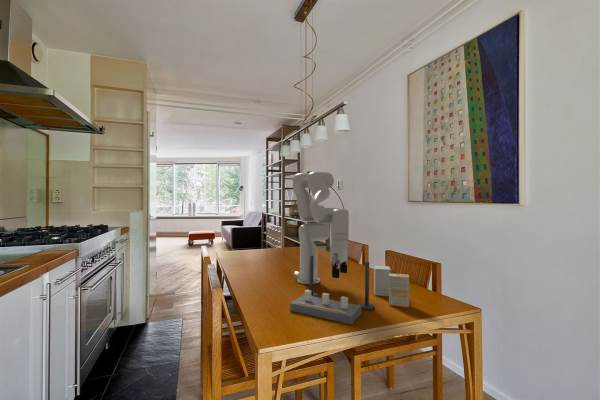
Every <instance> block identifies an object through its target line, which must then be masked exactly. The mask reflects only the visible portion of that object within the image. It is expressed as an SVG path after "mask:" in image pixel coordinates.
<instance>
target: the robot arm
mask: <svg viewBox="0 0 600 400" xmlns="http://www.w3.org/2000/svg"><path fill="white" fill-rule="evenodd" d="M334 183H335V179H334V175H332V173H330V172H327V171H312V172H300V173H296V174H294V176H293V178H292V189H293V191H294V192H293V193H294V194H295V197H296V202H297V203H296V204H297V209H298V216H299V220H300V221H302V222H306V223H303V224H301V225H300V226H299V228H298V238H299V248H300V249H299V271H294V273H293V275H294V277H297V278H296V281H297V283H299V284H303V285H310V256H314V258H313V285H316V284H319V283H320V282H321V279H320V277H318V247H317V245H316V244H315V243H314V242H316V241H326V240H328V239H329V238H330V236H331V244H330V256H329V257H330V259H329V260H330V261H329V262H330V263H331V277H332V278H334V279H339V278H340V273H342V274H347V273H348V258H349V257H348V255H349V251H348V250H349V249H348V245H349V244H348V241H349V239H350V238H349V231H350V230H349V228H350V227H349V225H350V224H349V223H350V222H349V221H350V218H349V216H350V215H349V214H350V212H349V209H347V208H346V209H345V208H339V207H325V206H324V205H322V204H320V203H322V202H325V201H326V200H327V199H328V198H329V197H330V195H331V192H330V188H332V187H333V185H334ZM307 189H310V192H311V193H310V192H309V191H308V190H307ZM311 194H312V195H311ZM308 222H309V223H308ZM310 222H312V223H310ZM330 225H331V229H330Z"/></svg>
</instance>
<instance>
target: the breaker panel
mask: <svg viewBox="0 0 600 400" xmlns="http://www.w3.org/2000/svg"><path fill="white" fill-rule="evenodd" d="M304 296H305V294H303V295H301V296H299V297H298V298H296V299H295V300H292V301H291V302H290V303H289V310H290V311H291V312H296V313H300V314H304V315H308V316H313V317H318V318H321V319H326V320H329V321H334V322H339V323H344V324H348V325H352V324H353V323H354V322H355V321H356V320H358V318H359V317H360V316H361V315H362V314H363V313H362V312H363V309H362V306H360V305H359V304H354V303H349V302H348V308H347V309H344V308H341V301H340V300H339V301H338V300H334V299H329V304H328V305H325V304H322V297H319V296H318V297H313V296H311V301H305V300H304Z"/></svg>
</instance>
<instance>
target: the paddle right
mask: <svg viewBox="0 0 600 400" xmlns="http://www.w3.org/2000/svg"><path fill="white" fill-rule="evenodd" d="M340 302H341V308H344V309H347V308H348V303H349V296H342V295H341V297H340Z"/></svg>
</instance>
